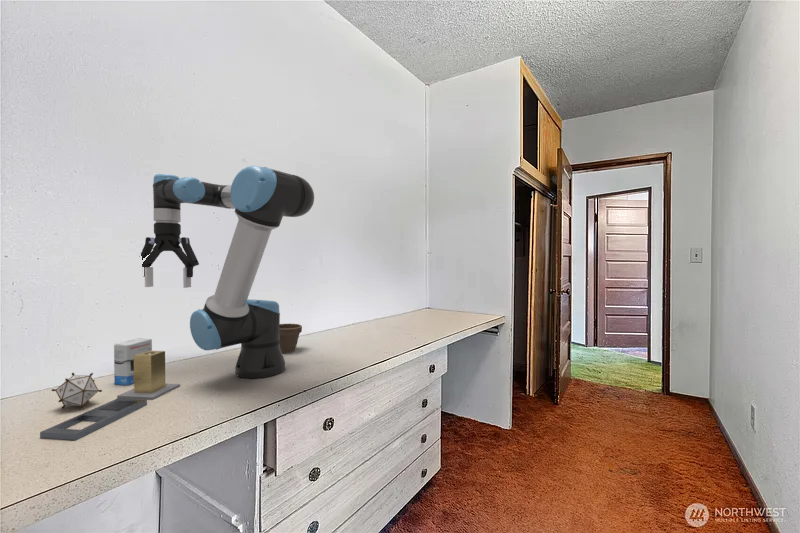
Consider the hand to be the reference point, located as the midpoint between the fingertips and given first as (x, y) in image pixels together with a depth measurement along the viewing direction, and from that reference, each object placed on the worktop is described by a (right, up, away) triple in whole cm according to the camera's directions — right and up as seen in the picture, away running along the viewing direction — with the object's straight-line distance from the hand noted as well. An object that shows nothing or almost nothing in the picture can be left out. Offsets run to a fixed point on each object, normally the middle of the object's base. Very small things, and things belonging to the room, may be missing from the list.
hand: (168, 287), depth 121 cm
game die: (-2, -28, -31) cm, 42 cm away
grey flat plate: (+9, -28, -38) cm, 48 cm away
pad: (+9, -27, -21) cm, 36 cm away
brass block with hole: (+9, -27, -21) cm, 35 cm away
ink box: (-3, -27, -12) cm, 30 cm away
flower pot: (+32, -27, +22) cm, 47 cm away
